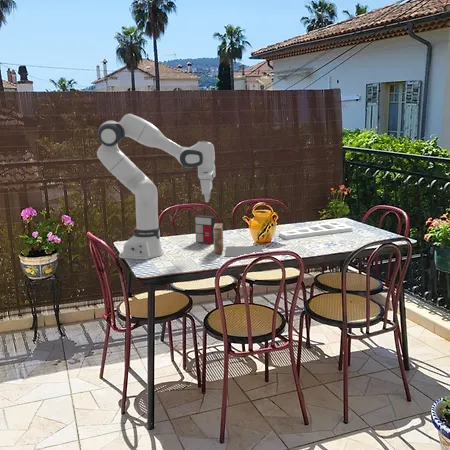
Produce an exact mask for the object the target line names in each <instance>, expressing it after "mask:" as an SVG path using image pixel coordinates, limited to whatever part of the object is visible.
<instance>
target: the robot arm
mask: <svg viewBox="0 0 450 450" xmlns="http://www.w3.org/2000/svg"><path fill="white" fill-rule="evenodd" d="M125 137H126V138H130V139H132V140H133V141H135V142H137V143H139V144H141V145H144V146H146V147H149V148H157V149H160V150H162V151H164V152H166V153H168V154H169V155H171V156H172V157H174V158H175V159H176V160H177V162H178V163H179V164H180V165H181V166H182V167H184V168H186V169H192V168H195V167H197V178H198V179H199V180H200V181H199V182H200V189H201V194H202V195H204V196H203V197H204V203H209V202H210V200H211V191H212V189H213V180H214V178H216V164H215V161H216V157H215V156H216V154H215V147H214V146H215V145H214V144H213V143H212V142H210V141H205V140H199V141H197V143H195V144H194V145H191V146H182V145H180V144H177V143H176V142H174V141H172V140H171V139H169V138H167V137H166V136H165V135H164V134H163V132H161V131H160V129H159V128H158V127H156V126H155V125H154V124H153V123H152V122H150V121H147V120H146V119H144V118H143V117H140V116H138V115H135V114H132V113H127V114H125V115H124V116H122V118H121V119H120V121H117V120H115V119H108V120H106V121H104V122H103V123H102V124H100V126H99V129H98V131H97V139H98V140H99V142H100V143H101V145H100V146H99V147H98V148H97V151H96V156H97V159H99V161H100V162H101V163H102V165H103V166H104V167H105V168H106V170H108V171H109V172H110V173H111V174H112V175H113V176H114V178H116V179H117V180H118V181H119V182H120V183H121V184H122V185H124V187H126V188H127V189H128V190H129V191H130V192H131V193H132V194H133V195H134V198H135V201H134V202H135V220H136V221H135V222H136V227H135V228H133V230H132V234H133V235H132V236H131V237H130V238H128V240H127V241H126V242H125V243H124V245H123V249H122V250H121V251H120V253H119V254H118V257H119V258H120V259H128V260H129V259H131V260H132V259H133V260H149V259H152V258H158V257H160V256H162V255H164V251H163V248H162V245H161V244H162V243H161V232H160V230H161V229H160V227H159V215H158V213H159V211H158V210H159V206H158V205H159V204H158V203H159V201H158V200H159V198H158V196H159V195H158V188H157V186H156V184H155V183H154V182H153V181H152V180H151V179H150V178H149V177H148V176H147V175H146V174H145V173H144V172H143V171H142V170H141V169H139V167H138V166H136V164H135V163H134V162H133V161H131V159H130V158H129V157H128V156H127V155H125V153H124V152H123V151H122V150H121V149H120V148H119V143H120V142H121V141H122V140H123V139H125Z"/></svg>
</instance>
